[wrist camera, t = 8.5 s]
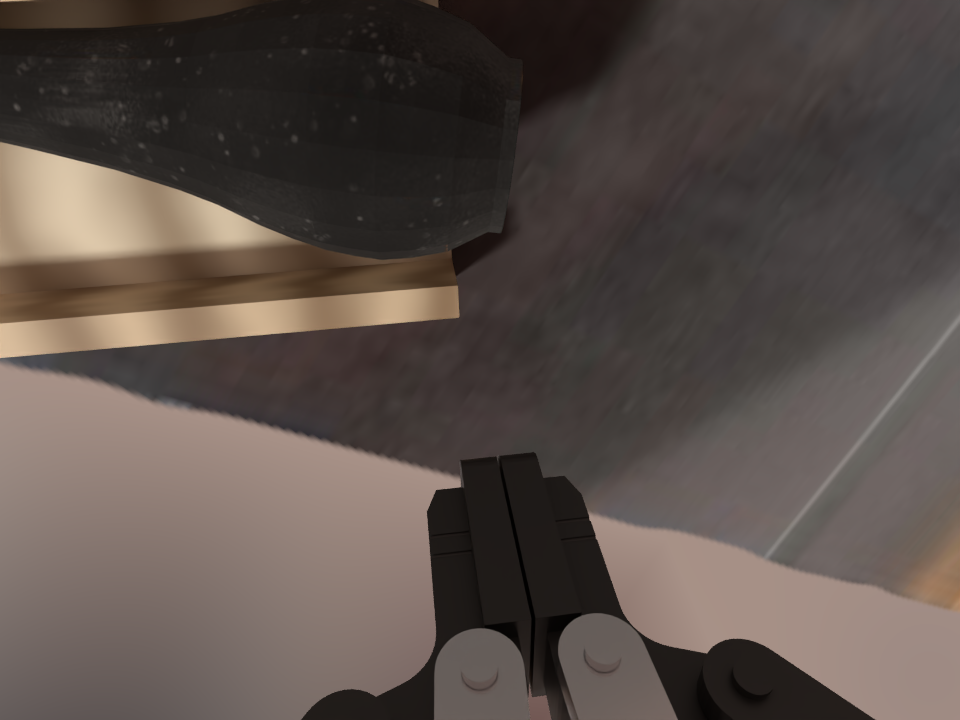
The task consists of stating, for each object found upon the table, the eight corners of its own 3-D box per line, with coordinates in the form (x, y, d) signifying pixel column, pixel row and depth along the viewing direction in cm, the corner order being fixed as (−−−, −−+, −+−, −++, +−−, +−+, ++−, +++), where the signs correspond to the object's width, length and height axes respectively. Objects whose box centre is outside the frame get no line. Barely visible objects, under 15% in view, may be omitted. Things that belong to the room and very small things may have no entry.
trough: (432, -77, 29) (440, -75, 25) (451, 279, 39) (459, 317, 36) (-251, -56, 26) (-352, -51, 23) (-37, 319, 37) (-83, 365, 33)
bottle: (538, -56, 24) (-321, -174, 22) (514, 213, 21) (-435, 101, 20) (507, 109, 34) (-79, 36, 33) (489, 301, 32) (-139, 232, 30)
